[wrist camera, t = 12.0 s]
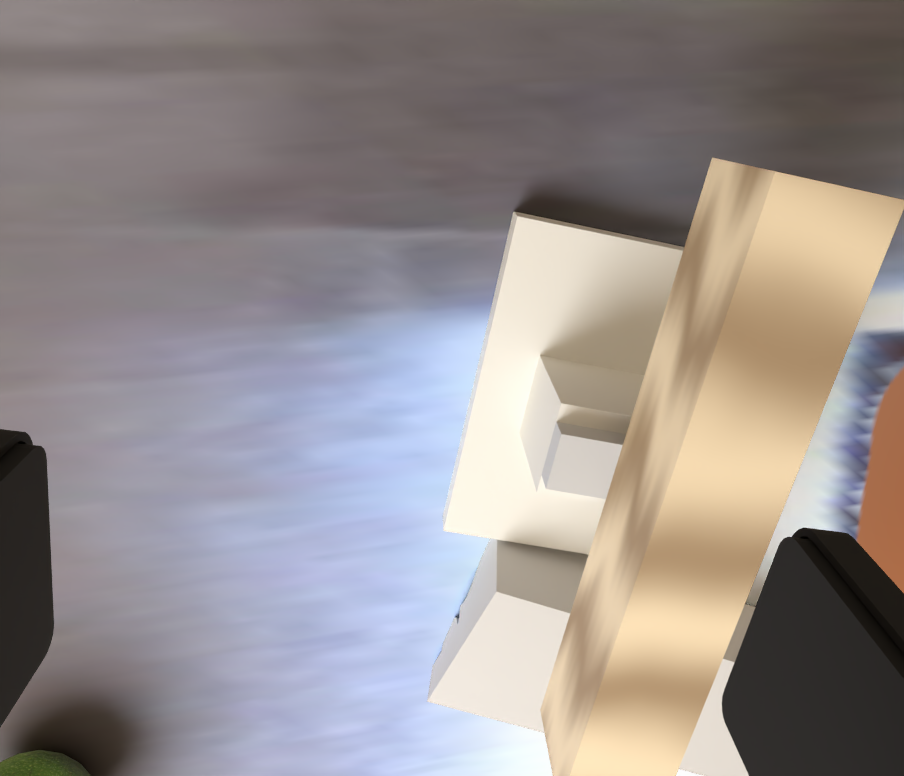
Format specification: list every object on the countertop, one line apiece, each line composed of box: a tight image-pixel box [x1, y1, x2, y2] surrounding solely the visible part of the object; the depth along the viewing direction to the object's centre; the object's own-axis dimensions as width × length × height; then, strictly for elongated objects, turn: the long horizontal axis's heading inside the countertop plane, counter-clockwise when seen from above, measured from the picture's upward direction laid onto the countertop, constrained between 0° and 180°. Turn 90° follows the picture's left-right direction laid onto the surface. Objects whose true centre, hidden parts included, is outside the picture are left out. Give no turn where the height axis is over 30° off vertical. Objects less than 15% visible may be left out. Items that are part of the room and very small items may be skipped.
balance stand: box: [443, 212, 684, 554], centre depth 35 cm, size 16×14×9 cm
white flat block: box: [427, 538, 755, 776], centre depth 45 cm, size 34×5×10 cm
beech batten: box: [540, 158, 904, 776], centre depth 28 cm, size 24×4×5 cm, turn 168°
